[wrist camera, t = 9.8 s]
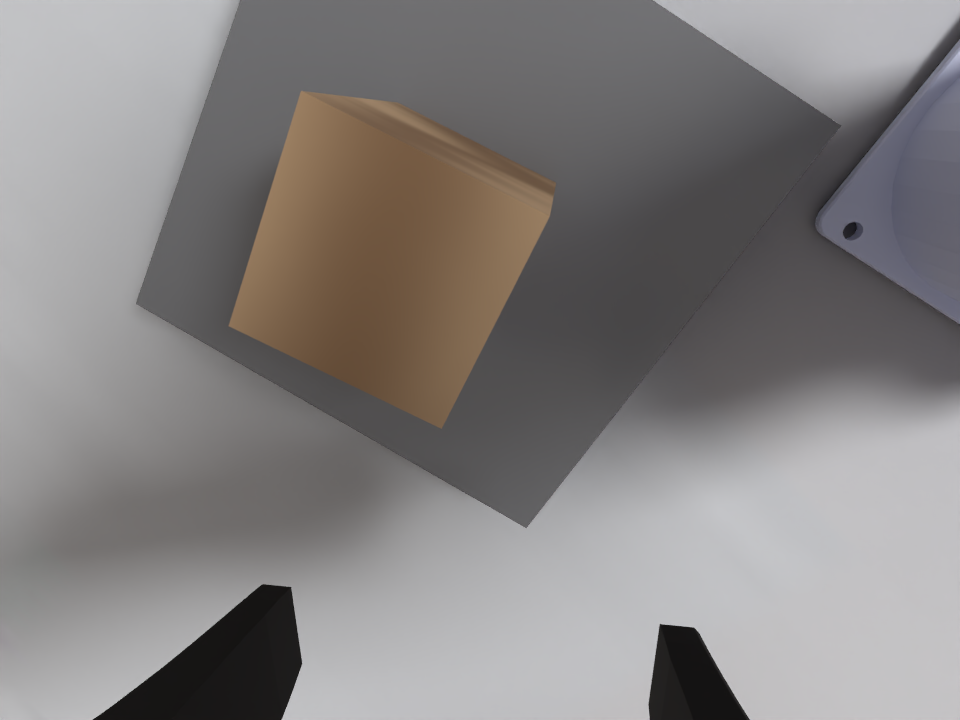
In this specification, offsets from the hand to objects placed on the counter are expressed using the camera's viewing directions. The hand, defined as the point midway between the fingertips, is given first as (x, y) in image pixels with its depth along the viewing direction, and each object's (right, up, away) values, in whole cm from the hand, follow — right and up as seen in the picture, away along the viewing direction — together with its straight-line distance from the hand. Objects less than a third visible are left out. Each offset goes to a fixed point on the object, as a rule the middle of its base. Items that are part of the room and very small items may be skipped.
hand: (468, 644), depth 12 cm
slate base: (0, +10, +7) cm, 13 cm away
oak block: (-1, +9, +5) cm, 10 cm away
